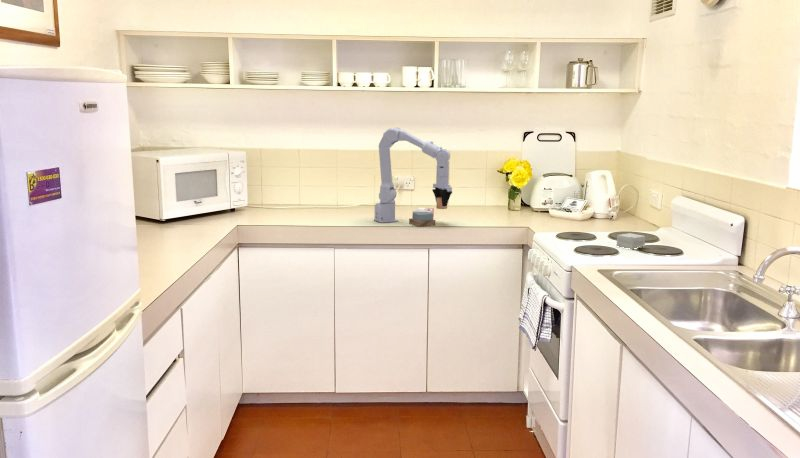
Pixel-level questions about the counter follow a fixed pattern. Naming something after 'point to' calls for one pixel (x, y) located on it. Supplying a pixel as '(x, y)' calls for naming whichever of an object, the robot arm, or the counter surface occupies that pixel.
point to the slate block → (422, 216)
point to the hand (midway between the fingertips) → (441, 205)
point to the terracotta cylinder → (440, 204)
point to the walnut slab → (421, 223)
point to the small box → (630, 240)
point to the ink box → (424, 210)
